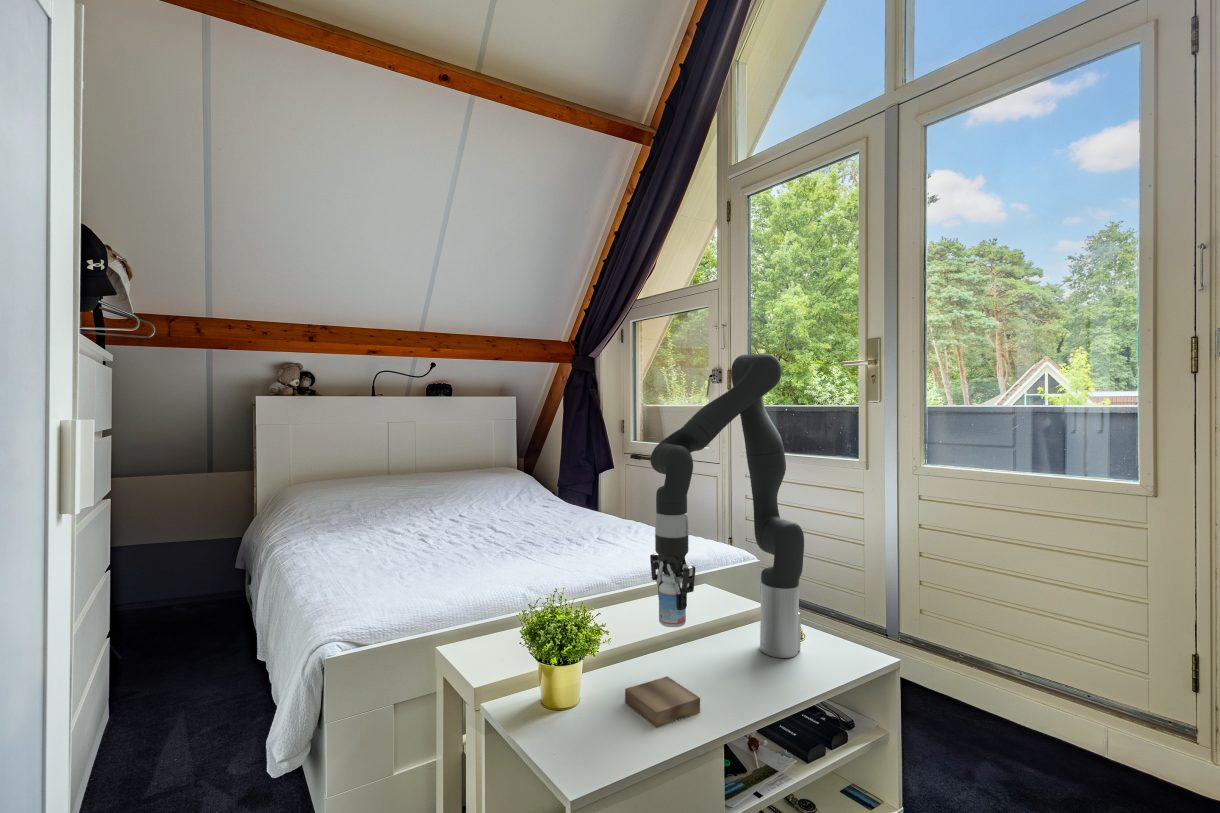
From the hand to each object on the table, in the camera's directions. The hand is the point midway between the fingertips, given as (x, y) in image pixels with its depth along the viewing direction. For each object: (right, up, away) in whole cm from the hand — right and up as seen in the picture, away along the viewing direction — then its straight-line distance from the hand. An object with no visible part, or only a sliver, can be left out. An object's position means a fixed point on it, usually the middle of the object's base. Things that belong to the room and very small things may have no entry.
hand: (672, 604), depth 140 cm
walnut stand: (-3, -17, -13) cm, 22 cm away
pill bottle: (0, -4, 0) cm, 4 cm away
